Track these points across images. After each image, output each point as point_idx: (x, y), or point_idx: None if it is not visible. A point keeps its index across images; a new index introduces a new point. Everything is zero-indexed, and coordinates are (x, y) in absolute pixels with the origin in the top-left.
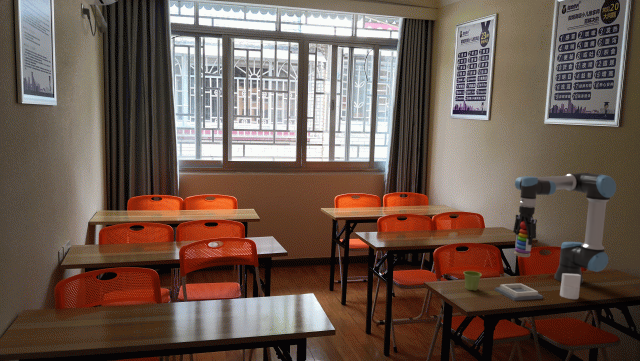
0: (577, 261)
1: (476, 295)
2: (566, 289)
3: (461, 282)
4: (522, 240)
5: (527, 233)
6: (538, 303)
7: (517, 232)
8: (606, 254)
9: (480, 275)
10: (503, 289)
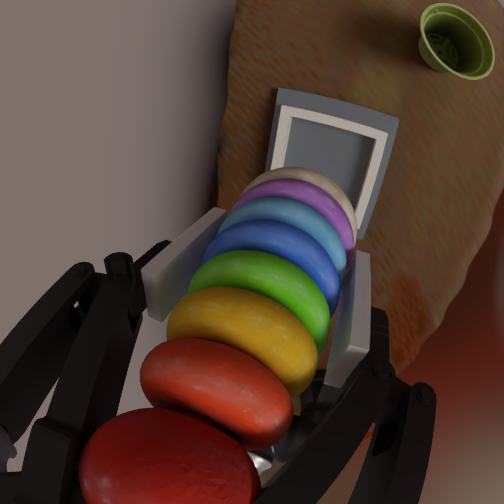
0: None
1: (371, 8)
2: None
3: (500, 92)
4: (222, 254)
5: (110, 322)
6: (233, 150)
7: (352, 384)
8: None
9: (426, 41)
10: (364, 124)
